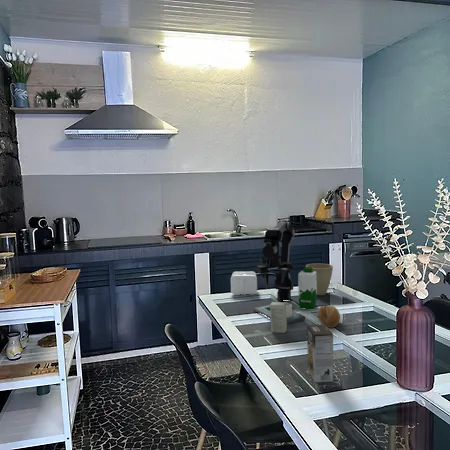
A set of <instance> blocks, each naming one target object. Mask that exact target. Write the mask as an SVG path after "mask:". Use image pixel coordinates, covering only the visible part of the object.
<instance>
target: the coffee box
mask: <svg viewBox="0 0 450 450" xmlns="http://www.w3.org/2000/svg"><path fill="white" fill-rule="evenodd" d="M306 336H307V339H306V340H307V341H306V342H307V343H306V344H307V346H306V347H307V371H308V373H309V374H310V376H311V378H312V380H313V382H314V383H327V382H329V383H330V382H334V333H333V332H332V331H331V330H330V328H329V327H327V326H326V325H325V324H322V323H321V324H318V323H316V324H306Z"/></svg>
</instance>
